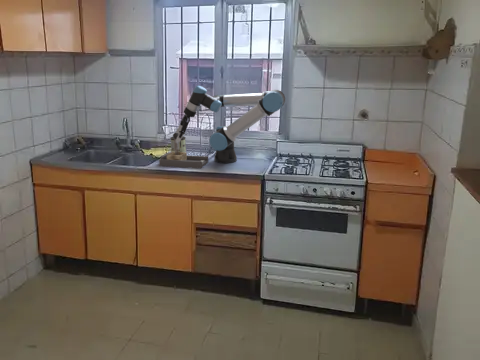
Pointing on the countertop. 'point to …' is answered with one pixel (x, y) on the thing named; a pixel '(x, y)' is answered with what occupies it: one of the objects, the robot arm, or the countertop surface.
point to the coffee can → (179, 145)
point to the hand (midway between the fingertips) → (177, 137)
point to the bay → (184, 161)
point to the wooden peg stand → (176, 151)
